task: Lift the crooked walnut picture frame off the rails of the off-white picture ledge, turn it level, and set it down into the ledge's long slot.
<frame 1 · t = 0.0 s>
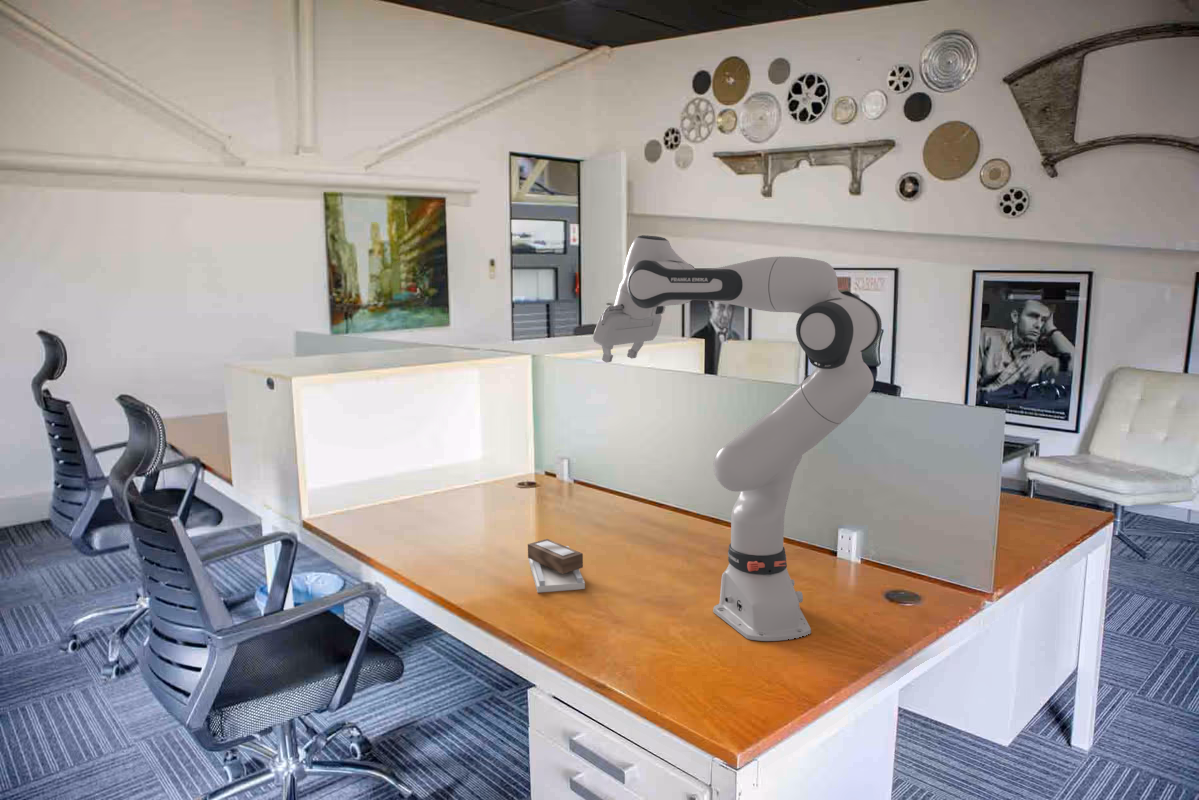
hand: (619, 359, 193), 52 cm above the table, fingers open, 8 cm apart
picture frame: (555, 562, 198), point 3 cm above the table, touching picture ledge
picture ledge: (555, 573, 199), on the table
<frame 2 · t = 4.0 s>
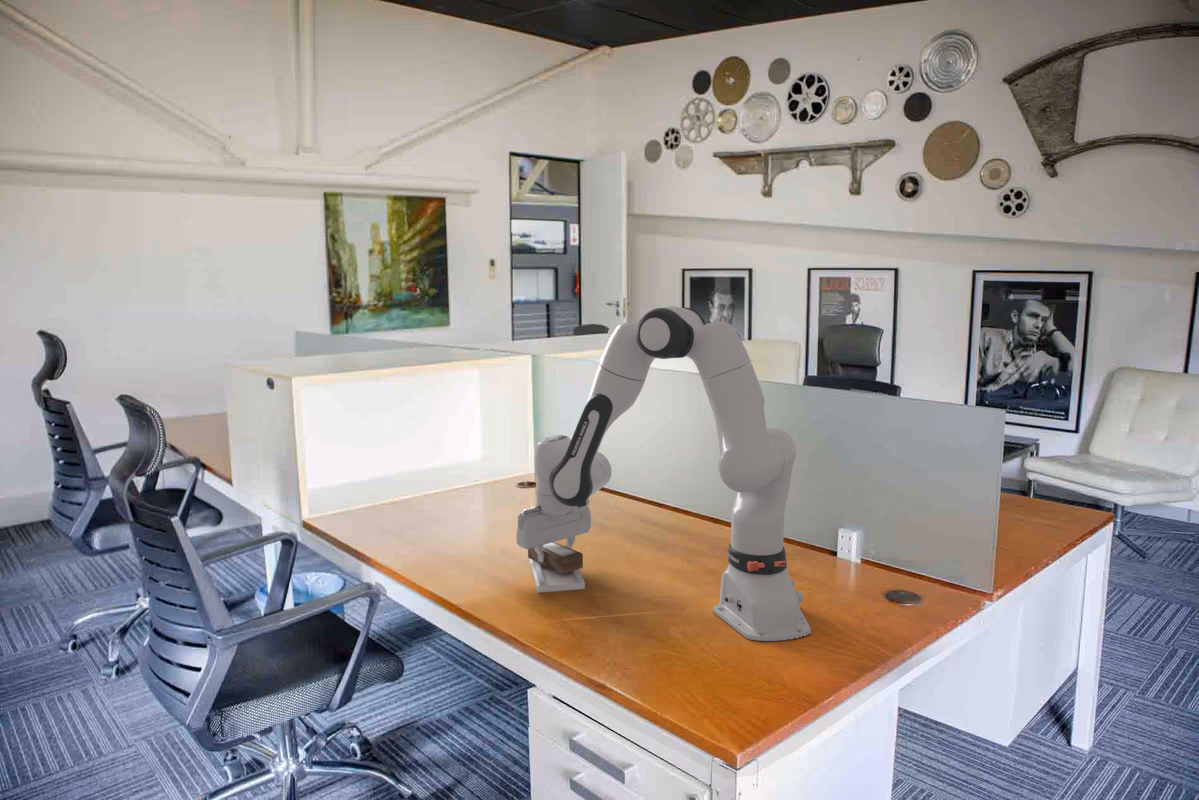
hand: (554, 557, 198), 4 cm above the table, fingers closed on picture frame, 6 cm apart
picture frame: (555, 562, 198), point 3 cm above the table, touching gripper, picture ledge
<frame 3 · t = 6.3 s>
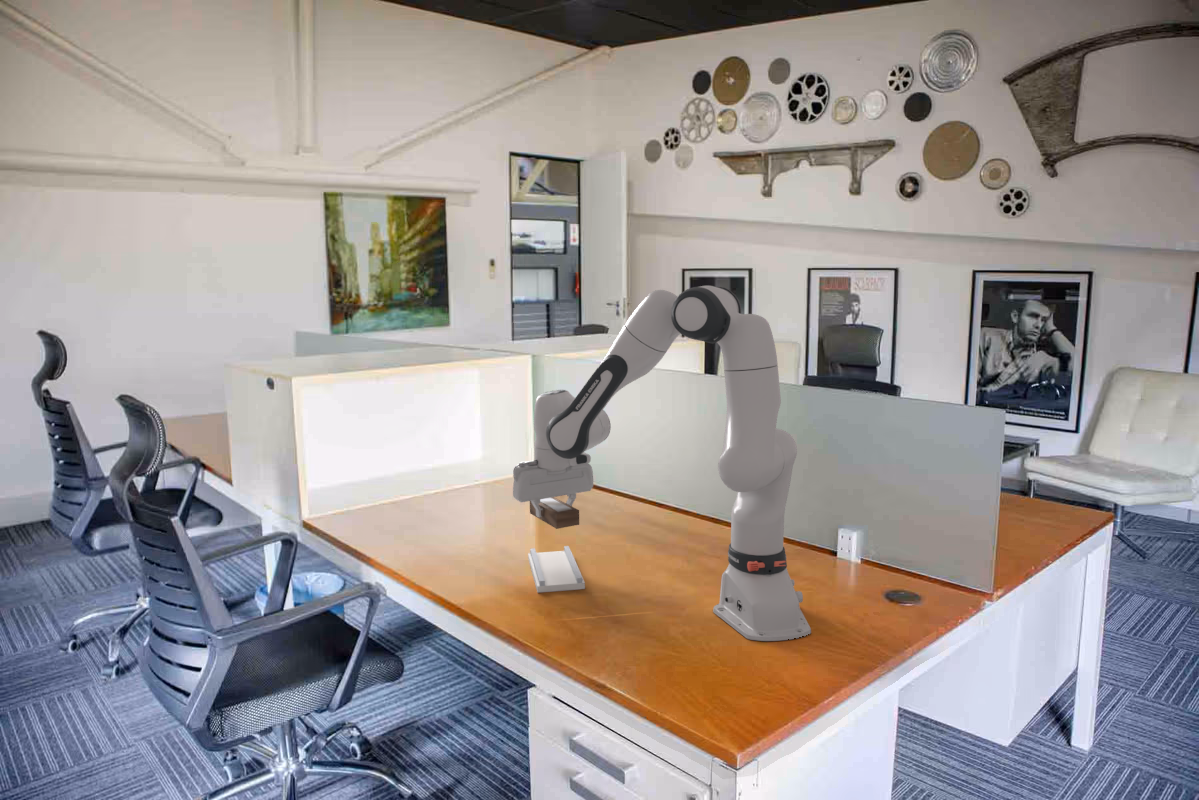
hand: (554, 513, 196), 15 cm above the table, fingers closed on picture frame, 6 cm apart
picture frame: (554, 518, 197), point 14 cm above the table, touching gripper
when the fingers open (4 cm above the table, at t = 8.9 s): picture frame drops 1 cm, resting on picture ledge.
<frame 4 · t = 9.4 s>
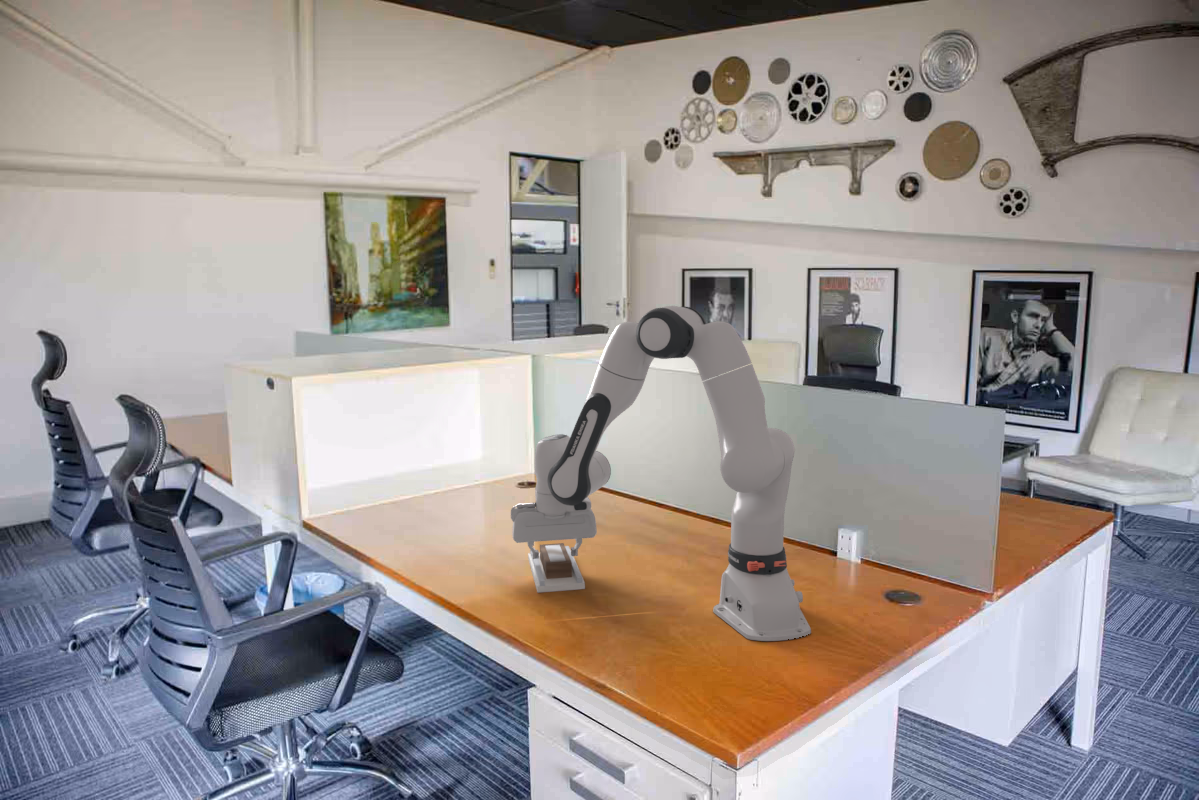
hand: (555, 556, 198), 4 cm above the table, fingers open, 8 cm apart
picture frame: (555, 567, 198), point 1 cm above the table, touching picture ledge
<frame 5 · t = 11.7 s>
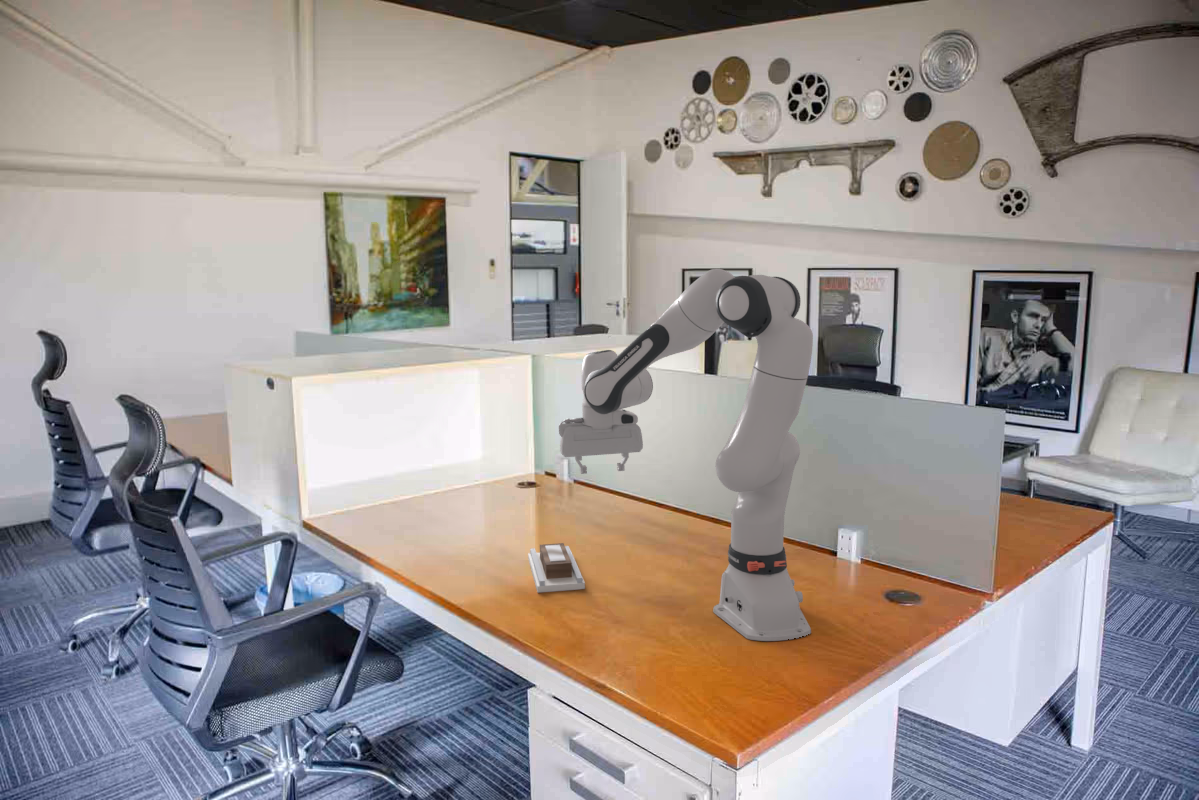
hand: (602, 472, 201), 24 cm above the table, fingers open, 8 cm apart
nothing on the table moved.
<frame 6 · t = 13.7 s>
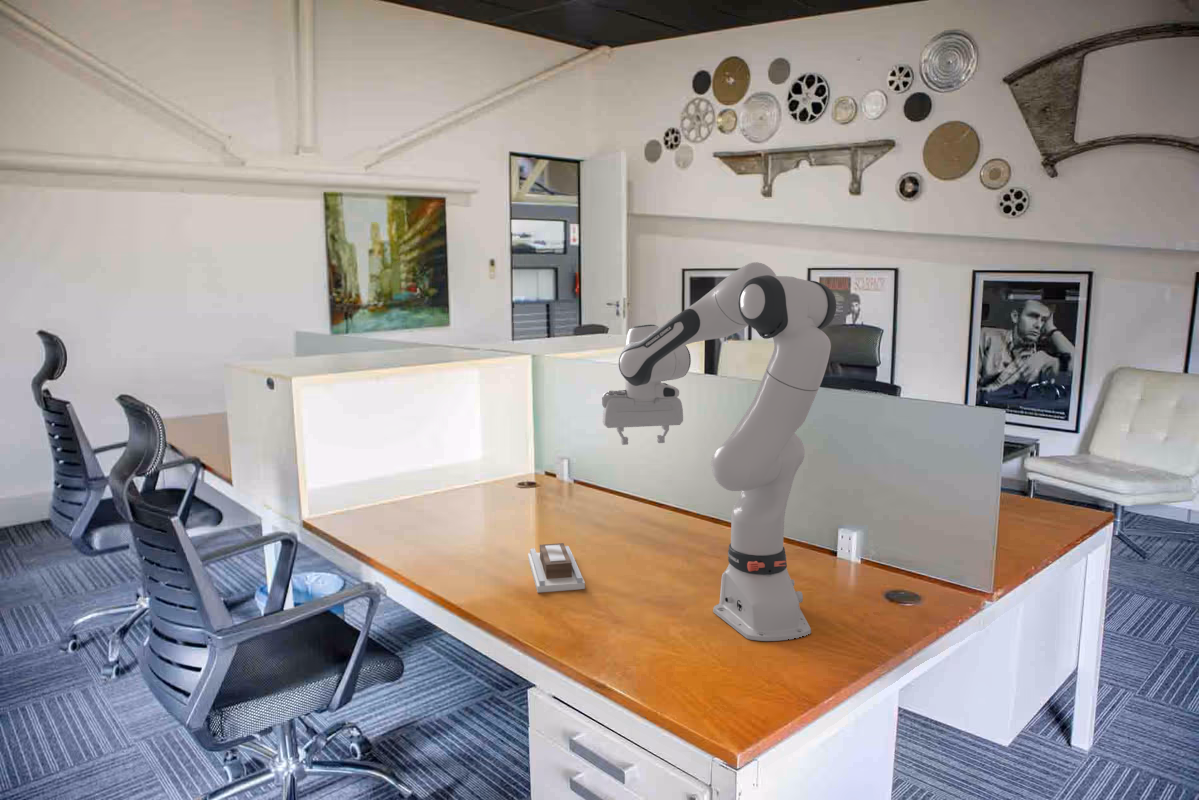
hand: (642, 443, 207), 29 cm above the table, fingers open, 8 cm apart
nothing on the table moved.
at the end: picture frame inside the target area on the picture ledge (0.1 cm from its centre), point 1.5 cm above the picture ledge's base; picture frame tilted 0°; the gripper is holding nothing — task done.
